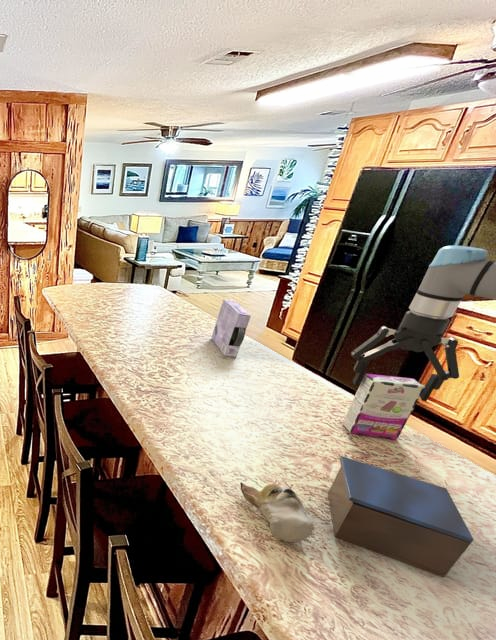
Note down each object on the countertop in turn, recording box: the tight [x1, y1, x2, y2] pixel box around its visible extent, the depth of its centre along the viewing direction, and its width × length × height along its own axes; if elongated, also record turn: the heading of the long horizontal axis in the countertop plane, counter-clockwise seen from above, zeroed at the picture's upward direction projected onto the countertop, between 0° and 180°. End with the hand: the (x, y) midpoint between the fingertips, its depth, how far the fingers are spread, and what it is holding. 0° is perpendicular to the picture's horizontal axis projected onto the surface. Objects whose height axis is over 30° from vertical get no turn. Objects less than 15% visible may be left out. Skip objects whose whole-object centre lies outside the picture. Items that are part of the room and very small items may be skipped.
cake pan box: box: [210, 298, 251, 358], centre depth 151 cm, size 19×5×18 cm, turn 171°
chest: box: [327, 466, 472, 578], centre depth 75 cm, size 16×14×9 cm
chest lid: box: [339, 455, 475, 543], centre depth 72 cm, size 16×14×1 cm
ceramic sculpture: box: [239, 481, 315, 543], centre depth 77 cm, size 11×9×15 cm
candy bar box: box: [342, 373, 425, 440], centre depth 103 cm, size 11×5×16 cm, turn 76°
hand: (387, 391), depth 101 cm, fingers open, 13 cm apart
